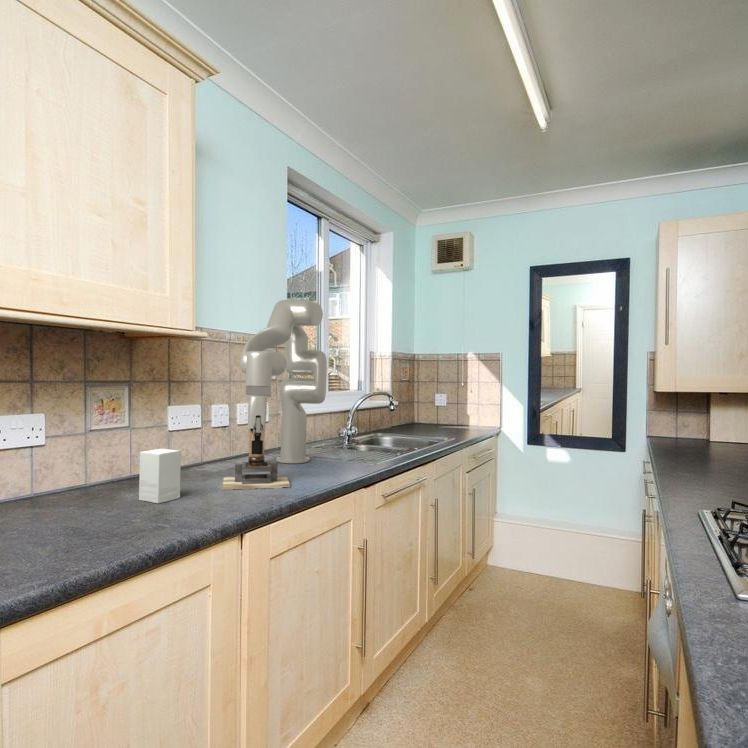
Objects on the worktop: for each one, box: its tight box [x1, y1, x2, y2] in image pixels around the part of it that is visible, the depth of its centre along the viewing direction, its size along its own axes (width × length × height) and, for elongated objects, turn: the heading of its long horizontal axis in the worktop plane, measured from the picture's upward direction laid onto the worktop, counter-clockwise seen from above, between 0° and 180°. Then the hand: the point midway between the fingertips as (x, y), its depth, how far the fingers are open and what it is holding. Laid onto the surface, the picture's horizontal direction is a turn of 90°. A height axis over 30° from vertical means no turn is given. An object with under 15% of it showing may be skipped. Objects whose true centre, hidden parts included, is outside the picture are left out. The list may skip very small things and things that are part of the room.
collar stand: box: [222, 461, 291, 491], centre depth 151 cm, size 13×19×6 cm
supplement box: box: [138, 448, 182, 504], centre depth 131 cm, size 7×7×13 cm
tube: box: [247, 426, 266, 466], centre depth 151 cm, size 5×5×12 cm
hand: (256, 452), depth 151 cm, fingers closed on tube, 4 cm apart
